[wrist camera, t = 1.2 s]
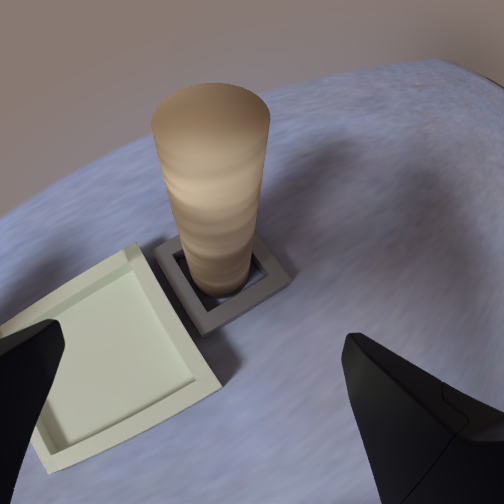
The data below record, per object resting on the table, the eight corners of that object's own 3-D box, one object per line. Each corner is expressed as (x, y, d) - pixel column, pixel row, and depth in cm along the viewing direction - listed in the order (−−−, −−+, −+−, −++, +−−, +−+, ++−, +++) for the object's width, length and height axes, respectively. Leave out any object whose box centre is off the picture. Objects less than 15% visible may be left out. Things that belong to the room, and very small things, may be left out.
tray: (223, 387, 21) (222, 386, 19) (62, 470, 16) (48, 474, 14) (143, 254, 25) (136, 241, 23) (5, 338, 20) (-9, 332, 18)
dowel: (260, 279, 24) (294, 129, 11) (210, 309, 23) (183, 178, 10) (228, 236, 26) (230, 73, 12) (181, 262, 24) (135, 108, 11)
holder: (289, 285, 24) (291, 279, 23) (203, 338, 22) (201, 335, 21) (235, 212, 27) (235, 204, 26) (154, 256, 25) (151, 250, 23)
